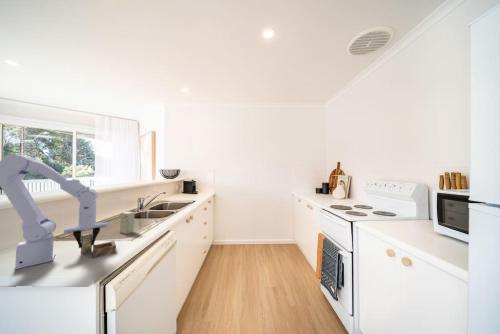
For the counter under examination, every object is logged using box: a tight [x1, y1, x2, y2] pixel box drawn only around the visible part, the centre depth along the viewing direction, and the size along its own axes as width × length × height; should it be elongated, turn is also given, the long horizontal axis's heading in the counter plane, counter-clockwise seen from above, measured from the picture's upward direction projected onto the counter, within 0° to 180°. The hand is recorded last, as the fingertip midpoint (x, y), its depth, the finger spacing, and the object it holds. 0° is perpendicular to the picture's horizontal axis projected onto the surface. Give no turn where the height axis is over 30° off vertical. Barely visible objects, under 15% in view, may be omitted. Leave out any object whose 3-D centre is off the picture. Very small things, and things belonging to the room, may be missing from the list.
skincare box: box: [119, 210, 135, 235], centre depth 105 cm, size 6×4×12 cm
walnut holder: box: [92, 240, 117, 258], centre depth 79 cm, size 8×8×3 cm
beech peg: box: [80, 233, 93, 255], centre depth 78 cm, size 4×4×8 cm
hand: (86, 246), depth 78 cm, fingers closed on beech peg, 4 cm apart
